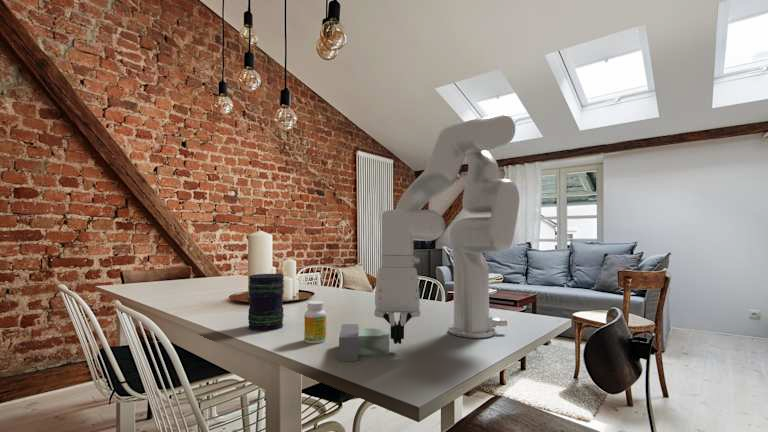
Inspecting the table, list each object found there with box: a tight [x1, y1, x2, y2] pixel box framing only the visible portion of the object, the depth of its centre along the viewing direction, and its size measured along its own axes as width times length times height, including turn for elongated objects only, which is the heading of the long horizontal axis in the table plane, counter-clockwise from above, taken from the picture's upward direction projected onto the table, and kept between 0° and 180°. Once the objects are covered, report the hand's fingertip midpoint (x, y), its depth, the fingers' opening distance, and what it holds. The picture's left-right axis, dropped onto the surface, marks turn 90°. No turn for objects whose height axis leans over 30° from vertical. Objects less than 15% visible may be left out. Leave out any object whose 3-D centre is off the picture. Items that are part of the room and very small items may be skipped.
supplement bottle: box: [303, 300, 327, 344], centre depth 99 cm, size 5×5×10 cm
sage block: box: [358, 327, 391, 356], centre depth 91 cm, size 7×7×4 cm
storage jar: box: [247, 273, 285, 332], centre depth 113 cm, size 10×10×15 cm
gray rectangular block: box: [338, 323, 359, 362], centre depth 90 cm, size 4×12×5 cm, turn 3°
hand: (397, 342), depth 90 cm, fingers closed
